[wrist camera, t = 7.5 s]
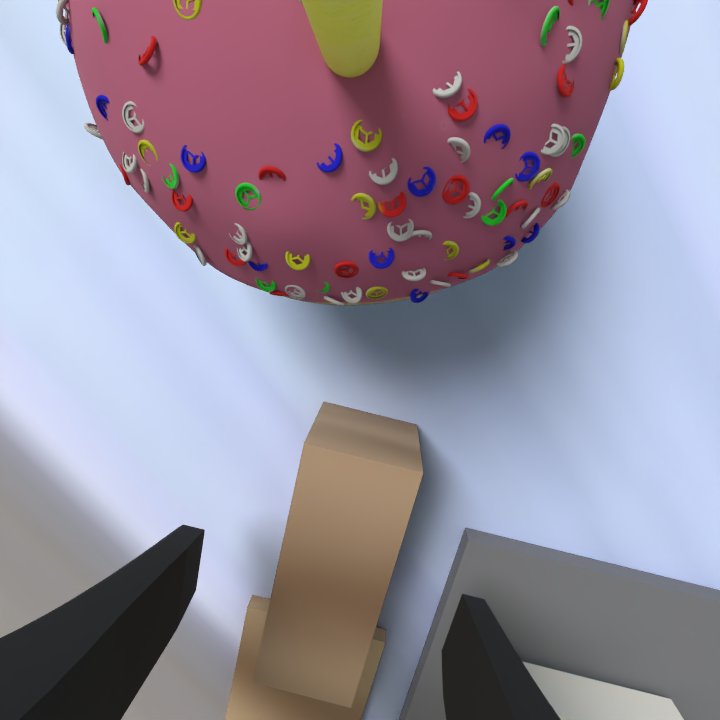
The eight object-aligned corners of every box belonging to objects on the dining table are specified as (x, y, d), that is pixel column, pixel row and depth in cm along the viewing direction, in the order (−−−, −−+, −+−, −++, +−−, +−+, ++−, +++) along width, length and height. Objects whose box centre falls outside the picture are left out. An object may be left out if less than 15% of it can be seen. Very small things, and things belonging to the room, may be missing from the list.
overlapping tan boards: (293, 392, 13) (264, 433, 10) (447, 431, 13) (463, 483, 10) (229, 710, 17) (195, 805, 14) (349, 741, 17) (340, 844, 14)
